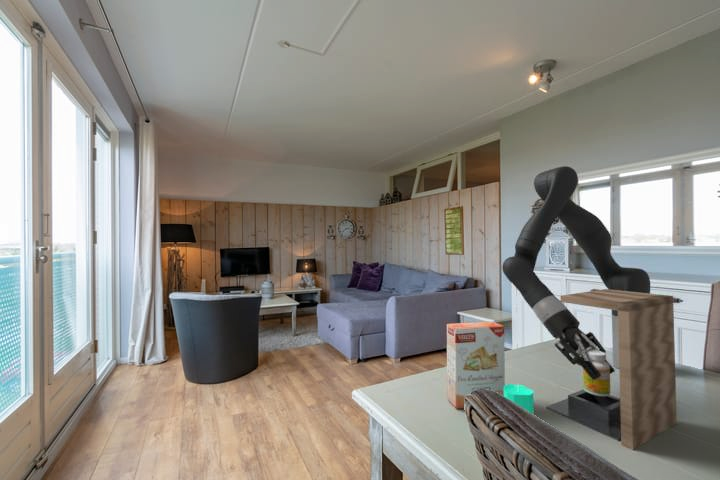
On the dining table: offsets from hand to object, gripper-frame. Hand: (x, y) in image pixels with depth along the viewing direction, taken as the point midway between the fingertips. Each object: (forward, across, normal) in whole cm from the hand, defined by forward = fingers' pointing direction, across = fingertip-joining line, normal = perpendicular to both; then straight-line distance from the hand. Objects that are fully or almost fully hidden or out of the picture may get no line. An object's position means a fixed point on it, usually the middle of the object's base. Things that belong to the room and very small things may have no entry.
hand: (604, 375), depth 80 cm
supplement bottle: (+2, 0, +5) cm, 5 cm away
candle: (+4, -25, +11) cm, 27 cm away
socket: (+6, 0, +8) cm, 10 cm away
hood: (+9, +1, +6) cm, 10 cm away
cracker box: (-7, -21, +22) cm, 31 cm away
